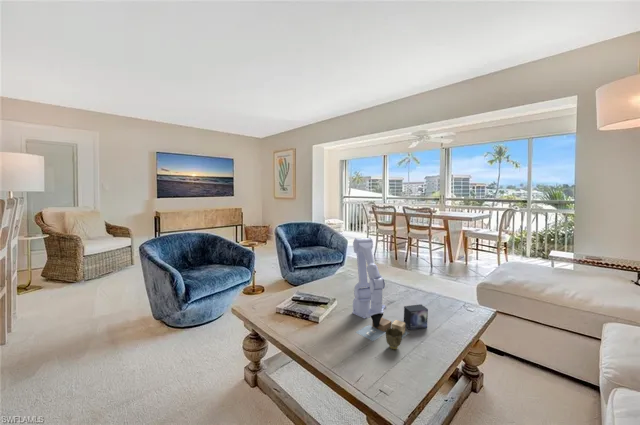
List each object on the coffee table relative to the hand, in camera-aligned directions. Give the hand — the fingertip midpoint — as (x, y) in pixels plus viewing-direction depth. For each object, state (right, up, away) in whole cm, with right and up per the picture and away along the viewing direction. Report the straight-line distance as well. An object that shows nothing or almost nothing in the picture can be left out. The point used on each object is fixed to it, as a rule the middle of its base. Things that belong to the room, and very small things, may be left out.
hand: (376, 326), depth 141 cm
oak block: (+10, -2, -3) cm, 11 cm away
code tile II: (+10, -2, -3) cm, 11 cm away
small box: (+21, -2, +3) cm, 21 cm away
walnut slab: (+3, -1, +3) cm, 5 cm away
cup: (+5, -4, -16) cm, 17 cm away
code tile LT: (-3, -2, -3) cm, 5 cm away
